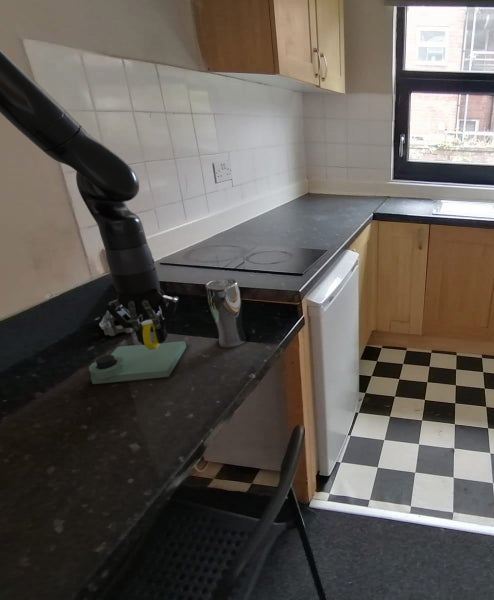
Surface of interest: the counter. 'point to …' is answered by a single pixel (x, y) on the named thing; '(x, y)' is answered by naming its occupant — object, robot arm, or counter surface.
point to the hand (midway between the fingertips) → (154, 342)
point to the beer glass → (226, 311)
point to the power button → (105, 361)
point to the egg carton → (108, 322)
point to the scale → (139, 363)
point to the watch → (147, 334)
